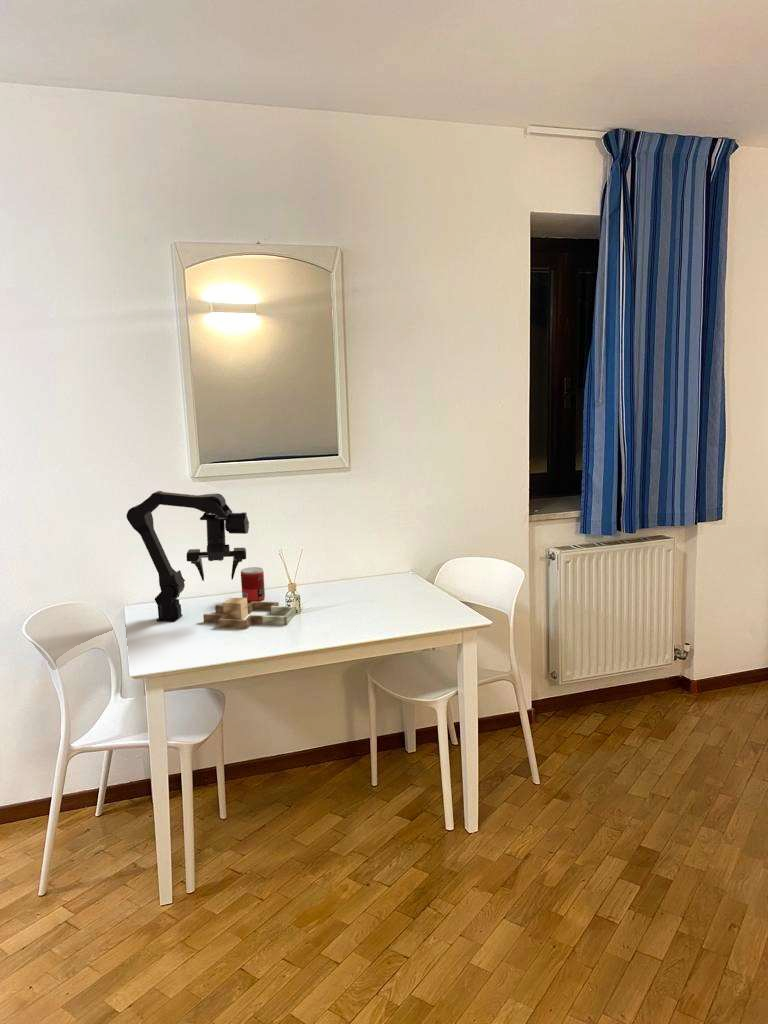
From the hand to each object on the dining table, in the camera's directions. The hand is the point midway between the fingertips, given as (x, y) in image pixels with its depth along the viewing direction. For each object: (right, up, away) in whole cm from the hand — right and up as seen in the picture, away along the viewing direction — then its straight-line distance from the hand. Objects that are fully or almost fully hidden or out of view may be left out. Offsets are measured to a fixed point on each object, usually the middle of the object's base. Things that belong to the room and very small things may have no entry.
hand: (217, 580), depth 247 cm
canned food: (+8, -9, +22) cm, 25 cm away
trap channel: (+11, -13, +2) cm, 16 cm away
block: (+6, -13, +2) cm, 14 cm away
